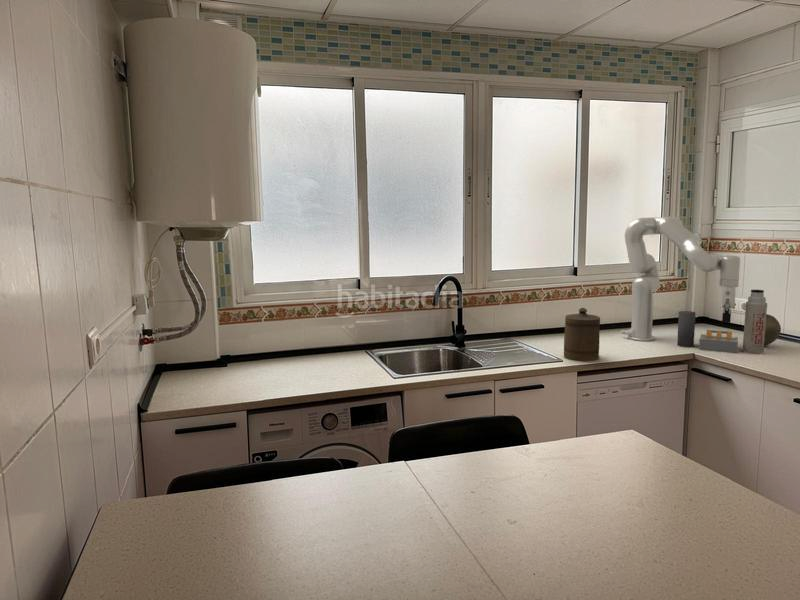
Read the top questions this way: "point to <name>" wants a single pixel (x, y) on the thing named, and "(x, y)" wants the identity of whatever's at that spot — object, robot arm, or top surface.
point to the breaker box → (718, 343)
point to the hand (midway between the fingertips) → (726, 320)
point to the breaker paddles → (719, 333)
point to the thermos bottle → (755, 323)
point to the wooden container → (581, 336)
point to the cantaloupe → (771, 329)
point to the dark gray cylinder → (686, 329)
